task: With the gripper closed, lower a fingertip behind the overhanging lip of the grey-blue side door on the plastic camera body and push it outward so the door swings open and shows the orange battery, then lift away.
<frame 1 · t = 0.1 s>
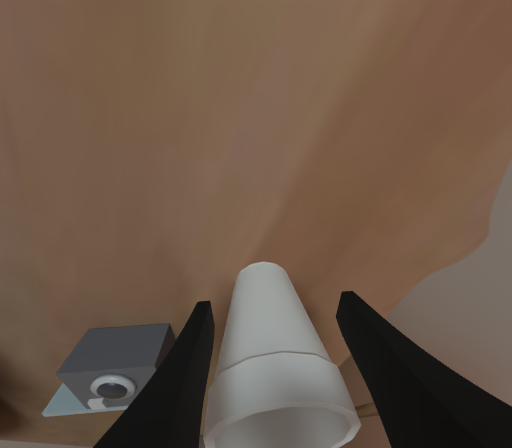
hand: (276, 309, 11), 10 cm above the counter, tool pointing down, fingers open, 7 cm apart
side door: (117, 388, 27), point 3 cm above the counter, hinge at 0.0°
foam cup: (262, 281, 24), on the counter
camera body: (138, 345, 27), on the counter
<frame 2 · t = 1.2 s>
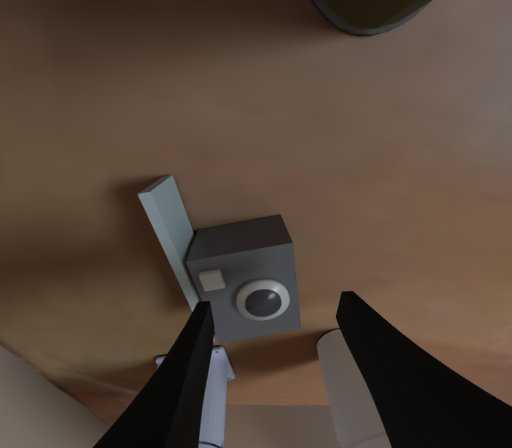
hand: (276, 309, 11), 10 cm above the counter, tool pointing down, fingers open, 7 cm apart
side door: (191, 266, 18), point 3 cm above the counter, hinge at 0.0°
foam cup: (337, 341, 29), on the counter
camera body: (248, 262, 21), on the counter
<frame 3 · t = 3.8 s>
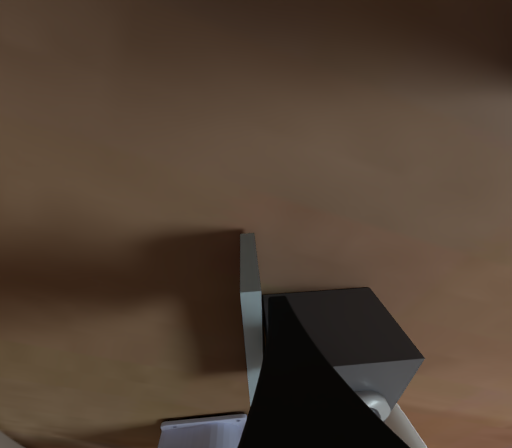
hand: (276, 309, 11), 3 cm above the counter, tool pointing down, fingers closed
side door: (254, 352, 13), point 3 cm above the counter, hinge at 0.4°, touching gripper
foam cup: (372, 410, 25), on the counter
camera body: (309, 334, 17), on the counter
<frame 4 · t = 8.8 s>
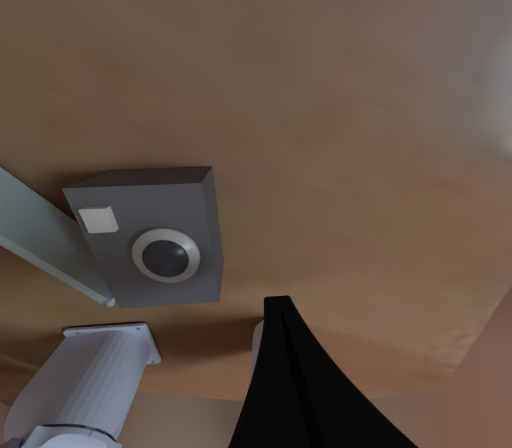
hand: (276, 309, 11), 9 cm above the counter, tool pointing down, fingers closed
side door: (38, 228, 15), point 3 cm above the counter, hinge at 35.6°
foam cup: (276, 330, 27), on the counter
camera body: (175, 223, 18), on the counter
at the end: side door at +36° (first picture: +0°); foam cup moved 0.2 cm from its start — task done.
